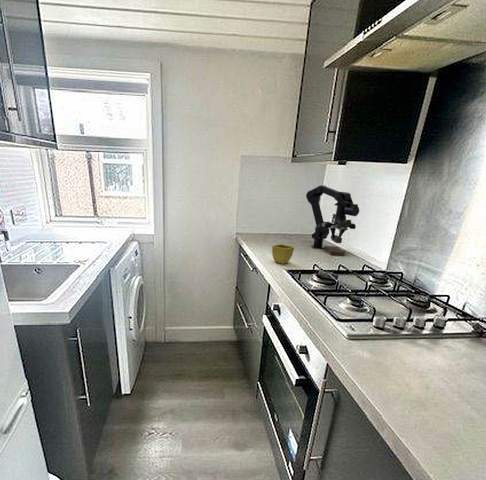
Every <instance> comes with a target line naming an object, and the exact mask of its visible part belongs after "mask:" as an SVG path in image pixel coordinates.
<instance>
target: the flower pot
mask: <svg viewBox="0 0 486 480" xmlns="http://www.w3.org/2000/svg"><path fill="white" fill-rule="evenodd" d="M294 250H295V246H292V245H288V244H284V243H283V244H282V243H279V244H275V245H272V246H271V254H272V258H273V261H274V262H275V263H279V264H282V265H284V264H287V263H289V261H290V260H291V259H292V257H293V254H294Z"/></svg>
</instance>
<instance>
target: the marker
mask: <svg viewBox="0 0 486 480" xmlns="http://www.w3.org/2000/svg"><path fill="white" fill-rule="evenodd" d="M330 239H331V241H332V242H334V243H335V244H342V241H343V238H342V236H341V237H339V234H335V237H334V239H333V237H332V234H331V235H330Z"/></svg>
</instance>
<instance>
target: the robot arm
mask: <svg viewBox="0 0 486 480" xmlns="http://www.w3.org/2000/svg"><path fill="white" fill-rule="evenodd" d="M324 194H325V195H327V196H329V197H331V198H333V200H335V201H336V203H334V204H333V205H334V206H336V211H335V214H334V221H333V222H330V221H324V218H323V217H324V216H323V213H322V210H321V209H322V208H321V206H320V200H321V196H323V195H324ZM305 198H306V200H307V202H308V204H309V205H311V209H312V214H313V217H314V218H313V219H314V221H315V228H314V232H313V233H312V234H311V239H313V244H312V245H311V247H312V248H313V249H323V250H324V248H325V247H323V245H324V240H327V238H328V236H329V234H330V232H331V235H332V237H333V239H334V237H335V235H336V234H335V233H336V230H337V228H336V227H338V229H339V231H338V236H339V237H341V238H342V236H343V234H344V233H345V232H346V231H348V230H349V229H350V230H356V227H357V225H356V224H355V223H353V222H352V219H347V216H351V217H357V216H358V215H359V214H360V207H359V204H357V203H354V201H353V198H352V196H351V193H350V192H345V191H338V190H336V189H333V188H330V187H328V186H326V185H318V186H316V187H315V188H312V189H311V190H308V191H307V192H306V194H305Z"/></svg>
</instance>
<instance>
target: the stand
mask: <svg viewBox="0 0 486 480" xmlns="http://www.w3.org/2000/svg"><path fill="white" fill-rule="evenodd" d="M323 248H324V249H323V250H324V251H325V252H327V253H328V255H330V256H340V257H344V256H345V253H346V252H345V251H344V250H343V249H342V248H340V247H338V246H335V245H334V246H333V245H324V247H323Z"/></svg>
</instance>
